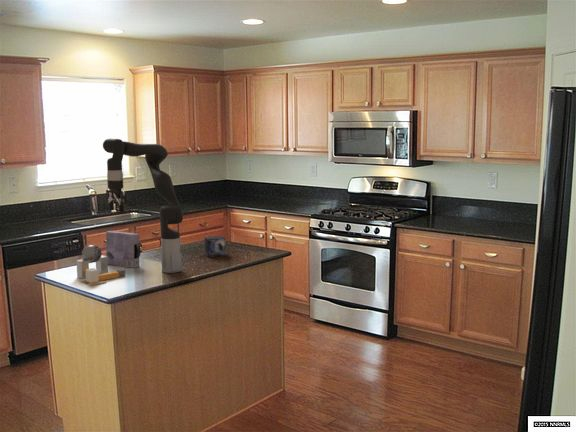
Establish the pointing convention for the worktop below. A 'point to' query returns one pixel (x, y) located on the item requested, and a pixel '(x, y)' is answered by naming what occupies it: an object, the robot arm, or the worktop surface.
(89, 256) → the housing
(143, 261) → the worktop surface
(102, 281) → the trivet
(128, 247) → the cake pan box
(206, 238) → the small box
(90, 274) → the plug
